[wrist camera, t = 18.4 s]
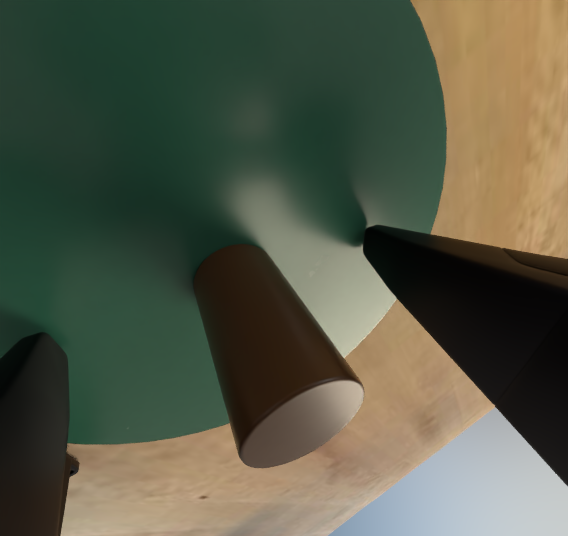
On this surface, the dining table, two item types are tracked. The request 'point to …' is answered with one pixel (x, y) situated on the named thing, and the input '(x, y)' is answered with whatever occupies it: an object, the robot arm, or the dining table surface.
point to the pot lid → (210, 205)
